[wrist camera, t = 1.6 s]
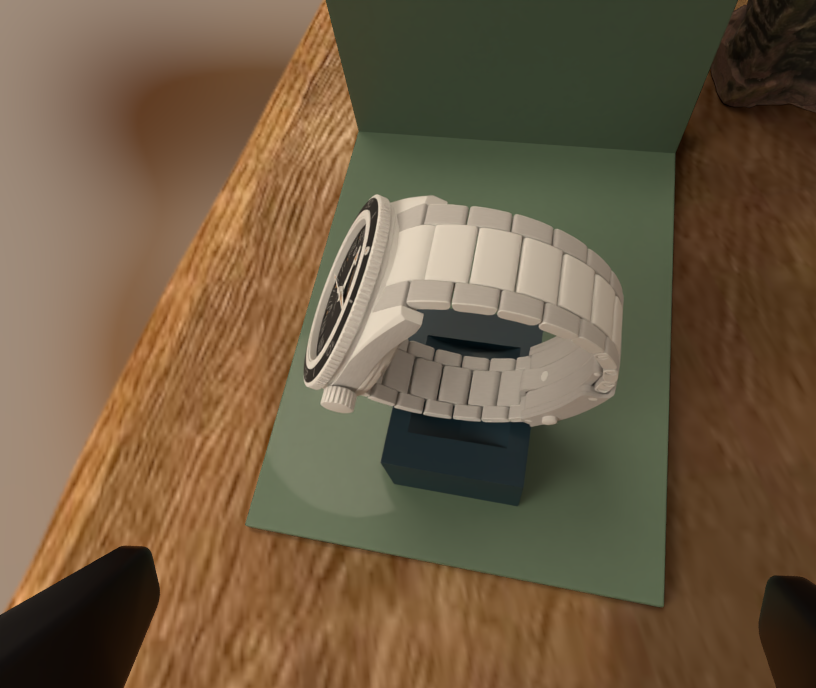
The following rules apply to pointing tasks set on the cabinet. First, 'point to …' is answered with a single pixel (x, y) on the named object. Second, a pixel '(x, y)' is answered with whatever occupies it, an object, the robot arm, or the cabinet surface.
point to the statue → (768, 55)
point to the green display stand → (540, 200)
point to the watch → (464, 338)
